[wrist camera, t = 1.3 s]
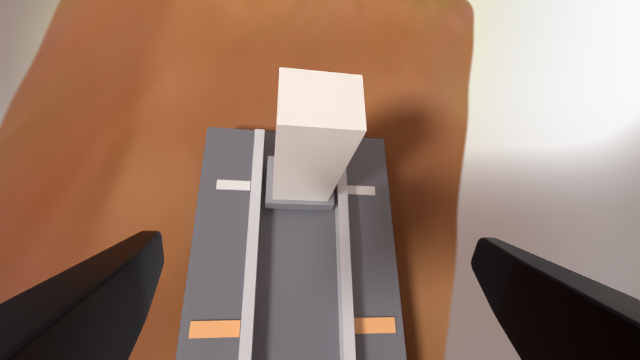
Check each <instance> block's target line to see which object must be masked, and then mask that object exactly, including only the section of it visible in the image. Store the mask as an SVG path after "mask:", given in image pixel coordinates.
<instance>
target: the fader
mask: <svg viewBox="0 0 640 360" xmlns="http://www.w3.org/2000/svg"><path fill="white" fill-rule="evenodd" d="M366 131H367V128H366V116H365V104H364V92H363V79H362V75H354V74H344V73H334V72H323V71H313V70H303V69H293V68H282V67H280V68H279V85H278V103H277V121H276V139H275V156H268V161H267V180H266V199H265V208H269V209H301V210H332V208H333V207H334V189H335V187H336V185H337V183H338V181H339V180H340V178H341V176H342V174H343V172H344V171H345V169H346V167H347V165H348V164H349V162H350V160H351V158H352V156H353V155H354V153H355V151H356V149H357V147H358V146H359V144H360V142H361V140H362V138H363V137H364V135H365V133H366Z"/></svg>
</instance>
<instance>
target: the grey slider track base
mask: <svg viewBox="0 0 640 360" xmlns="http://www.w3.org/2000/svg"><path fill="white" fill-rule="evenodd" d="M275 139H276V132H273V131H265V130H263V129H255V130H244V129H229V128H214V127H208V128H207V135H206V142H205V150H204V157H203V164H202V172H201V179H200V186H199V193H198V201H197V208H196V215H195V222H194V230H193V237H192V244H191V251H190V259H189V266H188V273H187V280H186V288H185V295H184V302H183V310H182V317H181V324H180V331H179V339H178V346H177V353H176V360H407V359H406V349H405V339H404V330H403V320H402V310H401V301H400V291H399V282H398V272H397V262H396V253H395V243H394V233H393V224H392V214H391V204H390V195H389V185H388V175H387V166H386V156H385V146H384V139H378V138H362V140H361V142H360V144H359V146H358V147H357V149H356V151H355V153H354V155H353V156H352V158H351V160H350V162H349V164H348V165H347V167H346V169H345V171H344V172H343V174H342V176H341V178H340V180H339V181H338V183H337V185H336V187H335V189H334V207H333V208H332V210H301V209H269V208H265V199H266V180H267V161H268V156H275Z"/></svg>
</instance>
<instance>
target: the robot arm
mask: <svg viewBox="0 0 640 360" xmlns="http://www.w3.org/2000/svg"><path fill="white" fill-rule="evenodd" d="M163 264H164V253H163V244H162V236H161V233H160V232H159V231H141V232H139V233H137V234H135V235H133V236H131V237H129V238H128V239H126V240H124V241H122V242H120V243H118V244H116V245H114V246H112V247H110V248H108V249H106V250H104V251H102V252H100V253H98V254H96V255H94V256H92V257H90V258H88V259H87V260H85V261H83V262H81V263H79V264H77V265H75V266H73V267H71V268H69V269H67V270H65V271H63V272H61V273H59V274H57V275H55V276H53V277H51V278H49V279H48V280H46V281H44V282H42V283H40V284H38V285H36V286H34V287H32V288H30V289H28V290H26V291H24V292H22V293H20V294H18V295H16V296H14V297H12V298H10V299H8V300H7V301H5V302H3V303H1V304H0V360H128V359H129V357H130V354H131V352H132V350H133V348H134V346H135V343H136V341H137V339H138V337H139V335H140V332H141V330H142V328H143V325H144V323H145V321H146V318H147V315H148V312H149V309H150V306H151V303H152V300H153V296H154V293H155V290H156V287H157V284H158V281H159V278H160V274H161V271H162V268H163ZM471 266H472V269H473V271H474V273H475V276H476V278H477V280H478V282H479V284H480V286H481V288H482V290H483V292H484V294H485V296H486V298H487V300H488V303H489V305H490V307H491V308H492V311H493V312H494V314H495V316H496V318H497V320H498V322H499V323H500V325H501V327H502V328H503V330H504V331H505V333H506V334H507V336H508V338H509V340H510V341H511V343H512V345H513V347H514V348H515V350H516V351H517V353H518V355H519V356H520V358H521V360H640V301H639V300H638V299H636V298H634V297H631V296H629V295H627V294H624V293H622V292H620V291H617V290H615V289H613V288H610V287H608V286H606V285H603V284H601V283H599V282H596V281H594V280H592V279H589V278H587V277H585V276H582V275H580V274H577V273H575V272H573V271H571V270H568V269H566V268H563V267H561V266H559V265H557V264H554V263H552V262H550V261H547V260H545V259H543V258H540V257H538V256H536V255H534V254H531V253H529V252H527V251H524V250H522V249H520V248H517V247H515V246H513V245H510V244H508V243H506V242H503V241H501V240H498V239H496V238H481V239H479V240H478V242H477V245H476V248H475V251H474V254H473V257H472V260H471Z"/></svg>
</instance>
